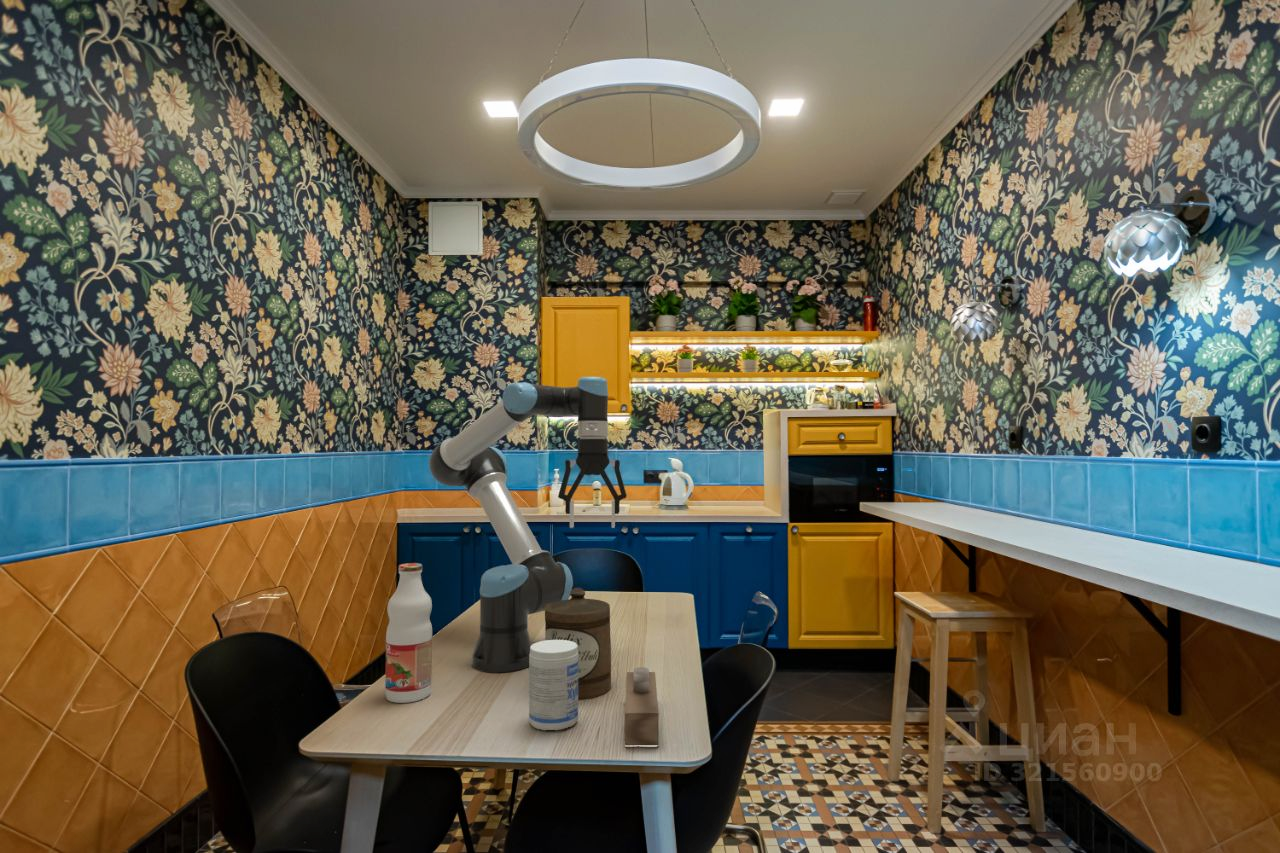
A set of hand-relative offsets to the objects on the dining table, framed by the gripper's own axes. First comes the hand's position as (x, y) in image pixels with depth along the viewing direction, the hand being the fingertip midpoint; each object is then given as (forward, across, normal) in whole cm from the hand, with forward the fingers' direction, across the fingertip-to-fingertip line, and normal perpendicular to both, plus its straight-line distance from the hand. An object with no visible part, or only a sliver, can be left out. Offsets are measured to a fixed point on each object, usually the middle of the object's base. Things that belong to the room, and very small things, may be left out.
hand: (592, 527), depth 165 cm
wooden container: (+34, -2, -17) cm, 38 cm away
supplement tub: (+34, -5, -36) cm, 50 cm away
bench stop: (+34, +12, -36) cm, 51 cm away
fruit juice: (+34, -38, -22) cm, 56 cm away
